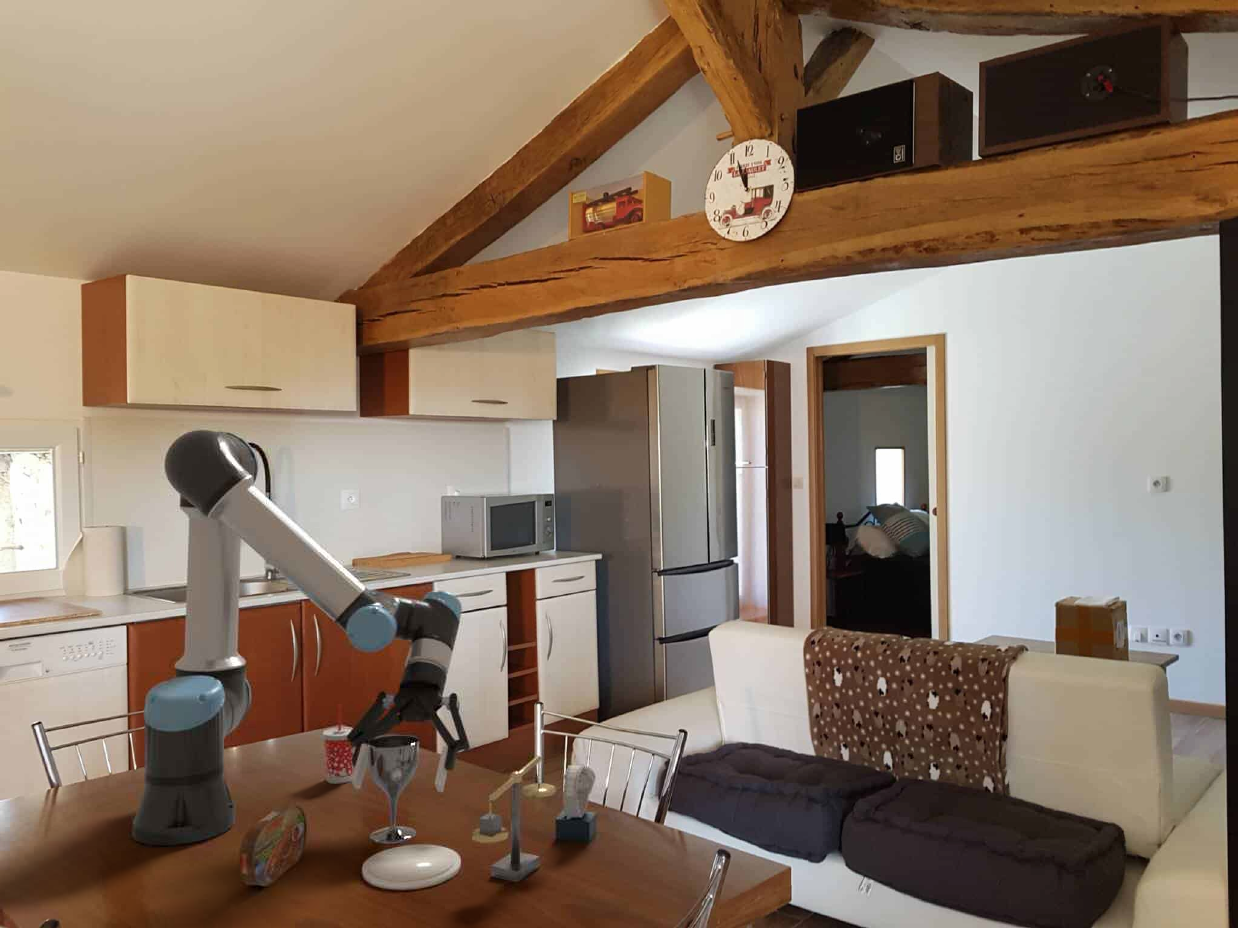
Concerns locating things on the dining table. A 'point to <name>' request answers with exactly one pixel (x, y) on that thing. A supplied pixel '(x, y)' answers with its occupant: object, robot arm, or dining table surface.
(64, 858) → the dining table surface
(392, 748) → the wine glass
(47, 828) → the dining table surface
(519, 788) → the balance
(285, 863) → the tin
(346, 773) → the beverage cup
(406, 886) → the dish
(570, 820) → the watch
